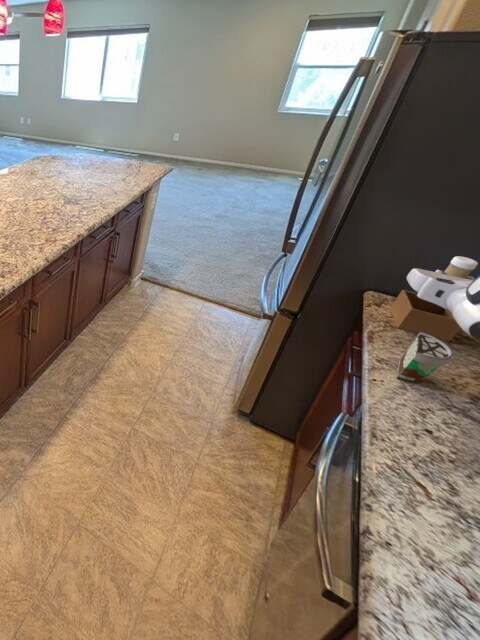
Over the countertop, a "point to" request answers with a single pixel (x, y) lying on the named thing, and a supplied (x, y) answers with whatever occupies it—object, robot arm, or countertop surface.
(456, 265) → the sprinkles bottle
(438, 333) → the carton
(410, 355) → the food container
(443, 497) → the countertop surface
